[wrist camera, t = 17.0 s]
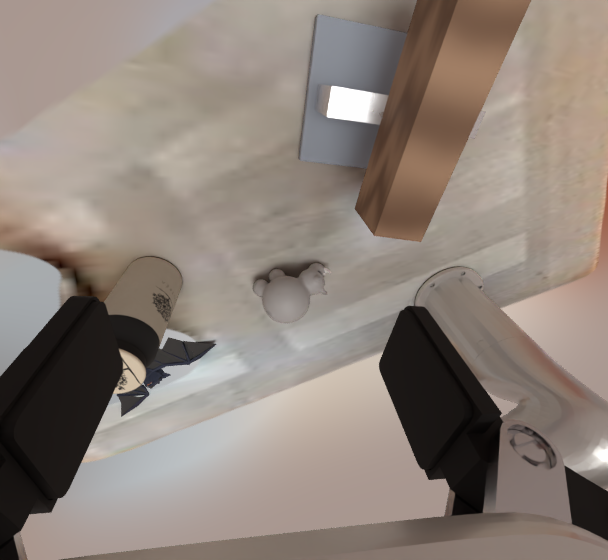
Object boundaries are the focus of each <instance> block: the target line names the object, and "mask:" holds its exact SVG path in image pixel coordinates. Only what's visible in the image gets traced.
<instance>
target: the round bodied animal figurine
mask: <svg viewBox="0 0 608 560" xmlns="http://www.w3.org/2000/svg"><path fill="white" fill-rule="evenodd" d="M325 273H330V274H331V271H330V270H329V269H327V268H325V267H323V265H322V264H319V263H314V264H312V265H310V266H309V268H308V269H306V270H304V271H303V272H301V274H300V275H299V277H298V278H294V277H291V276H285V274H284V272H283V271H282V270H280V269H274V270H272V271H271V272H270V274H269V280H270V283H269V284H268V282H267V281H265V280H262V279H260V280H257V281H256V282H255V283H254V285H253V291H254V293H255V294H256V295H258V296H260V297H262V298H263V299H262V301H263V307H264V309H265V311H266V313H267V314H268V316H269V317H270V318H272V319H273V320H275V321H277V322H280V323H292V322H295V321H297V320H299V319H300V318H302V317H303V316H304V315H305V313H306V312H307V310H308V307H309V304H310V295H315V294H318V293H322V294H325V295H326V294H327V292H326V291H325V290H324V285H325V282H324V278H323V277H324V275H326V274H325Z"/></svg>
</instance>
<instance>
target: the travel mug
mask: <svg viewBox="0 0 608 560" xmlns="http://www.w3.org/2000/svg"><path fill="white" fill-rule="evenodd" d="M181 287H182V278H181V275H180V273H179V271H178V270H177V269H176V268H175V267H174V266H173V265H172V264H170V263H169V262H167V261H165V260H163V259H160V258H155V257H144V258H139V259H137V260H135V261H133V262H132V263H131V264H130V265H129V267H128V268H127V270H126V271H125V272H124V274H123V275H122V277H121V278H120V280H119V281H118V283H117V284H116V286H115V287H114V288H113V290H112V291H111V293H110V294H109V296H108V297H107V299H106V300H105V302H104V303H105V305H106V308H107V311H108V314H109V318H110V321H111V324H112V328H113V331H114V334H115V338H116V341H117V344H118V348H119V351H120V354H121V358H122V361H123V372H122V375H121V377H120V379H119V382H118V384H117V386H116V388H115V390H114V392H113V394H119V393H125V392H129V391H132V390H134V389H136V388H138V387H139V386H140V385H141V384H142V383H143V382H144V380H145V378H146V369H145V368H146V367H148V366H149V365H150V364H151V363H152V362H153V361H154V359H155V357H156V355H157V352H158V349H159V346H160V344H161V341H162V338H163V336H164V333H165V330H166V327H167V325H168V322H169V319H170V317H171V314H172V311H173V309H174V306H175V303H176V300H177V298H178V295H179V292H180V290H181Z"/></svg>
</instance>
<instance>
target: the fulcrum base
mask: <svg viewBox="0 0 608 560" xmlns="http://www.w3.org/2000/svg"><path fill="white" fill-rule="evenodd" d="M406 36H407V33H405V32H400V31H395V30H391V29H386V28H381V27H376V26H372V25H367V24H362V23H357V22H353V21H348V20H343V19H338V18H334V17H329V16H324V15H319V14H318V15H317V16H316V18H315V26H314V35H313V43H312V51H311V60H310V68H309V76H308V85H307V93H306V101H305V110H304V118H303V126H302V135H301V143H300V151H299V160H300V161H307V162H316V163H324V164H333V165H341V166H350V167H358V168H367V166H368V163H369V159H370V156H371V153H372V149H373V146H374V143H375V139H376V136H377V133H378V129H379V126H380V125H378V124H371V123H364V122H357V121H351V120H344V119H337V118H330V117H326V116H324V115H323V114H321V113H319V112H318V111H316V110H315V105H316V98H317V90H318V84H321V85H329V86H335V87H341V88H347V89H353V90H359V91H365V92H371V93H377V94H383V95H389V93H390V89H391V86H392V83H393V79H394V76H395V73H396V69H397V66H398V63H399V59H400V56H401V53H402V49H403V46H404V43H405V39H406Z"/></svg>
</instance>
